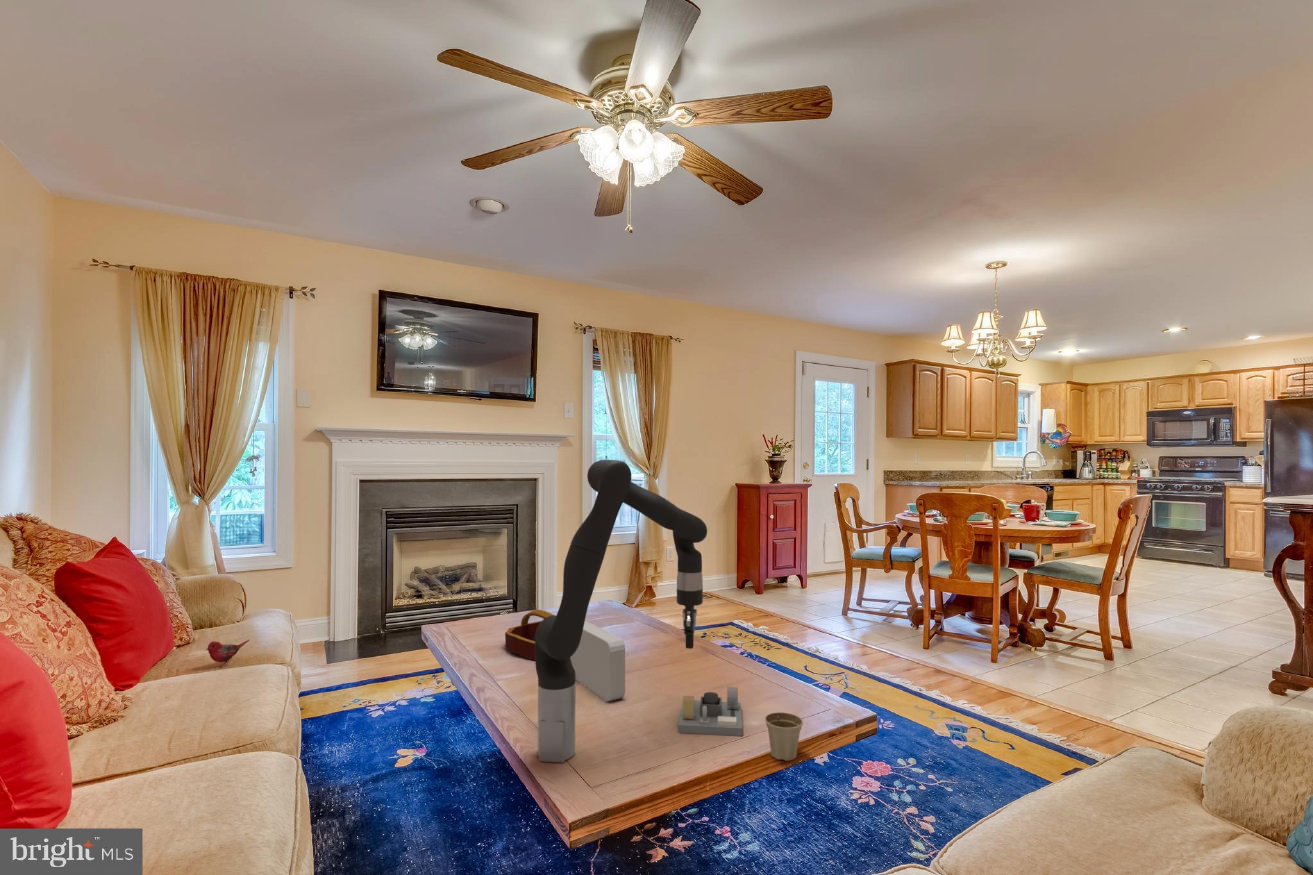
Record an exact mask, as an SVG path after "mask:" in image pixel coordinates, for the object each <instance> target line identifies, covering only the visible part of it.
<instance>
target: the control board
mask: <svg viewBox="0 0 1313 875" xmlns="http://www.w3.org/2000/svg"><path fill="white" fill-rule="evenodd" d="M742 714H743V711H742V702H739V701H738V709H727V701H722V697H721V696H720V697H719V696H718V705H711V704H704V696H700V700H696V699H694V719H683V701H682V703H681V708H680V713H679V717H678V718H679V719H678V724H677V732H678V733H680V734H697V735H698V734H699V735H716V736H718V735H719V736H734V737H743V717H742Z"/></svg>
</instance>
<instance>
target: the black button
mask: <svg viewBox="0 0 1313 875" xmlns="http://www.w3.org/2000/svg"><path fill="white" fill-rule="evenodd" d="M703 697H704V704H711V705H718V697H719V693H717V692H714V691H713V692H711V691H708V692H704V693H703Z"/></svg>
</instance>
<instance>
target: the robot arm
mask: <svg viewBox="0 0 1313 875" xmlns="http://www.w3.org/2000/svg"><path fill="white" fill-rule="evenodd" d="M586 475H587V476H586V477H587V478H586V479H587V482H588V484H589V487H590V488H591V489H592V490H594V491H595V492H597V494H596V497H595V500H594V501H595V502H594V504H593V507H592V509H591V511H590V512H589V513H588V515H587V517H586V518H585V519H584V521H583V522H582V523H581V525H580V526H579V527H578V528H577V529H576V531H575V534H574V535H573V537H572V539H571V541H570V544H569V547H568V550H567V553H566V556H565V560H564V564H563V574H562V576H563V578H562V579H563V582H562V595H561V596H562V597H561V601H560V605H559V608H558V611H557V614H556V615H554V614H553V615H552V616H548V617H546V618H545V619H543V618H542V620H540V621H541V622H540V624H539V625H538V628H537V630H536V635H535V660H534V661H535V671H536V674H537V686H538V687H537V689H538V692H537V693H538V694H537V756H538V761H539V762H550V763H565V761H566V760H570V758H572V757H574V755H575V754H576V692H577V691H576V674H575V670H574V668H573V665H572V662H571V658H570V657H571V656H572V655H573V654H574V653H575V652H576V650H577V649H578V646H579V644H580V641H581V637H582V632H583V627H584V622H585V621H586V617H587V613H588V608H589V605H590V602H591V599H592V595H593V592H594V590H595V586H596V582H597V579H598V576H599V573H600V570H601V568H602V566H603V562H604V559H605V555H606V551H607V550H608V549H607V548H608V545H609V542H610V540H611V539H610V538H611V535H612V532H613V530H614V526H615V524H616V521H617V518H618V515H619V512H620V510H621V508H622V505H623V504H625V505H627V506H628V507H631V509H634V510H636V511H637V512H639V513H640V514H641V515H644V516H645V517H646V518H648V519H650V520H651V521H652V522H654V523H656V524H657V525H659V526H661V527H662V528H664V529H667V530H670V531H672V537H673V538H672V539H673V543H674V549H675V552H676V555H677V576H676V603H677V604H678V605H680V606H684V608H683V609H682V616H681V617H682V620H683V621H682V622H683V624H682V625H683V628H684V630H683V631H684V632H683V633H684V636H685V649H691V650H692V649H694V646H695V645H694V637H695V636H694V635H695V628H696V623H697V615H698V610H697V609H696V608H695V606H696V607H697V606H701V605H702V604H703V601H704V599H703V598H704V594H703V593H704V591H703V590H704V589H703V588H704V584H703V582H704V578H703V558H702V557H703V555H702V553H701V552H700V551H699V550H697V549H696V547H695V544H697V543H701V542H703V541H704V540H705V539H706V538H707V535H708V527H707V524H706V523H705V522H704V520H703V519H702V518H700V517H699V516H697V515H694V514H692V513H690V512H688V511H686V510H684V509H681V508H679V507H678V506H676V505H675V503H672V502H671V501H669V500H667V499H666V498H665V497H663V496H661V495H659V494H657V493H655V492H653V491H651V490H649V489H646V488H644V487H642V486H640V485H638V484H637V483H635V482H633V481H632V470H631V467H630V466H629V465H628V464H627V463H626V462H624V461H623V460H620V459H619V460H618V459H617V460H616V459H601V460H597V461H595V462H593V463H592V464H591V465H590V466H589V468H588V470H587V474H586Z"/></svg>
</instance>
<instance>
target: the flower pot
mask: <svg viewBox="0 0 1313 875" xmlns="http://www.w3.org/2000/svg"><path fill="white" fill-rule="evenodd" d="M763 719H764V722H765V725H766V728H767V732H768V739H769V740H768V741H769V747H770V755H771V756H772V757H773V758H774V759H776V760H780V761H781V760H784V761H785V762H786V761H788V762H789V761H793V760H795V759H797V755H798V749H799V740H800V739H799V738H800V733H801V730H802V726H803V725H804V719H802V717H800V716H798V715H797V714H793V713H790V712H785V711H783V712H781V711H776V712H770V713H768V714H766V715H765V716H764V718H763Z"/></svg>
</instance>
